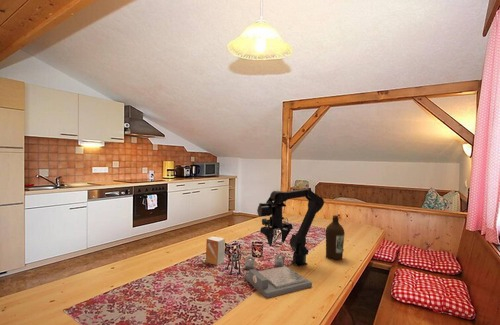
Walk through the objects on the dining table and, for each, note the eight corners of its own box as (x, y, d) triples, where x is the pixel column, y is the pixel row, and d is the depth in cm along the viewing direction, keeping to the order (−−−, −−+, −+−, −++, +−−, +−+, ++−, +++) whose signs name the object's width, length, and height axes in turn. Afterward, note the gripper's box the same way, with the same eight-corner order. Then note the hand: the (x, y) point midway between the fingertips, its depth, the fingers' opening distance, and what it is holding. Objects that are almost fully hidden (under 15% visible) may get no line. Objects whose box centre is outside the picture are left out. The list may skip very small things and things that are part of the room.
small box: (205, 262, 146) (206, 238, 146) (212, 258, 152) (213, 235, 151) (217, 265, 142) (218, 241, 142) (224, 262, 148) (225, 238, 147)
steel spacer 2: (280, 263, 149) (280, 254, 148) (285, 266, 144) (286, 257, 144) (272, 264, 146) (273, 255, 146) (278, 268, 142) (278, 258, 142)
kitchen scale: (285, 269, 140) (286, 259, 140) (311, 286, 122) (312, 274, 122) (244, 278, 128) (244, 266, 128) (265, 298, 111) (266, 285, 111)
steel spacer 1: (251, 265, 145) (251, 255, 144) (256, 268, 140) (256, 259, 140) (243, 266, 142) (243, 257, 142) (247, 270, 138) (248, 260, 138)
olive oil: (321, 256, 162) (322, 214, 161) (332, 253, 167) (334, 213, 167) (335, 262, 153) (337, 218, 152) (347, 258, 158) (349, 216, 158)
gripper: (278, 210, 155) (278, 237, 156) (253, 214, 144) (253, 243, 144) (293, 213, 146) (293, 242, 147) (267, 218, 135) (267, 249, 135)
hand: (276, 244), depth 143 cm, fingers open, 9 cm apart
